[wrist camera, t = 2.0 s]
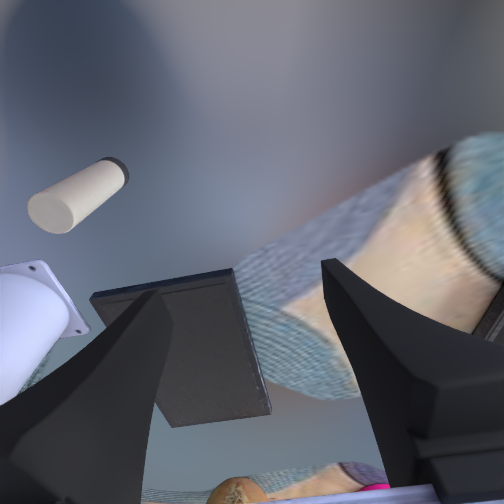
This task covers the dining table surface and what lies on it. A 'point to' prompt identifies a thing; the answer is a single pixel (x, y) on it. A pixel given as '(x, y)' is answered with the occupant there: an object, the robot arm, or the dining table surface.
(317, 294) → the dining table surface
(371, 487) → the pepper mill
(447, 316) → the dining table surface
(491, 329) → the phone
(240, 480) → the onion
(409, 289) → the dining table surface
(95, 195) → the white cylinder
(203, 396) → the tablet
